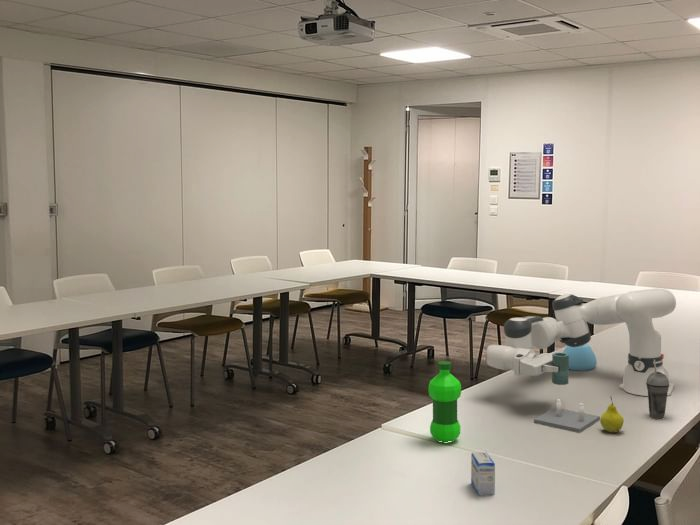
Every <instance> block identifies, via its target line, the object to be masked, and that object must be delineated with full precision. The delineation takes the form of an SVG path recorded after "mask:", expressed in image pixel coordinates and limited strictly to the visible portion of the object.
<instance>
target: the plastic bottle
mask: <svg viewBox="0 0 700 525" xmlns="http://www.w3.org/2000/svg"><path fill="white" fill-rule="evenodd" d="M437 369H438V370H439V373H438V374H436V375H435V376H434V377H433V378H432V379H431V380H429V384H428V396H429V398H431V399H432V421H431V422H430V425H429V432H430V435H431V436H432V438H434V440H436V439H437V440H438V441H442V442H448V441H453V440H454V441H455V440H457V439H458V438H459V437H460V435H461V424H460V422H459V420H458V399H460V398H461V394H462V385H461V382H460V380H459V379H458V378H456V377H455V376H454V375H453V374H452V373H450V372H451V371H450V370H451V369H452V361H447V360H442V361H438V362H437ZM437 440H436V441H437ZM438 441H437V442H438ZM454 441H453V442H454Z"/></svg>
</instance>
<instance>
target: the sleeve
mask: <svg viewBox="0 0 700 525" xmlns="http://www.w3.org/2000/svg"><path fill="white" fill-rule="evenodd" d="M551 354H552V366H559V371H558V372H551V383H552V384H554V385H558V386H566V385H568V384H569V371H570V370H569V355H568V354H567V353H563V352H554V353H551Z"/></svg>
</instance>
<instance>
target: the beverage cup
mask: <svg viewBox="0 0 700 525" xmlns="http://www.w3.org/2000/svg"><path fill="white" fill-rule="evenodd" d="M654 368H655V372H654V373H652V374H650V375H649V376H648V378H647V382H646V384H647V390H648V396H647V400H648V413H649V417H651V418H650V419H653V418H655V419H654V420H664V419H665V415H666V408H667V401H668V400H667V399H668V396H667V392H668V389H669V382H670V381H669V377H668V378H667V377H666V376H665V375H664V374H663V373H661V372H657V371H656V362H655V359H654ZM663 418H664V419H663Z"/></svg>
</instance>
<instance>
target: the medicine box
mask: <svg viewBox="0 0 700 525" xmlns="http://www.w3.org/2000/svg"><path fill="white" fill-rule="evenodd" d="M470 457H471V462H470V463H471V468H470V469H471V472H470V473H471V474H470V482H471V484H472V486H473V489H474V490H475V492H476V494H478V495H479V496H488V495H496V494H495V493H496V463H495V462H494V461H493V459H492V457H491V456H490V455H489V453H488V452H487V451H479V452H477V451H475V452H471V456H470Z"/></svg>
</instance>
